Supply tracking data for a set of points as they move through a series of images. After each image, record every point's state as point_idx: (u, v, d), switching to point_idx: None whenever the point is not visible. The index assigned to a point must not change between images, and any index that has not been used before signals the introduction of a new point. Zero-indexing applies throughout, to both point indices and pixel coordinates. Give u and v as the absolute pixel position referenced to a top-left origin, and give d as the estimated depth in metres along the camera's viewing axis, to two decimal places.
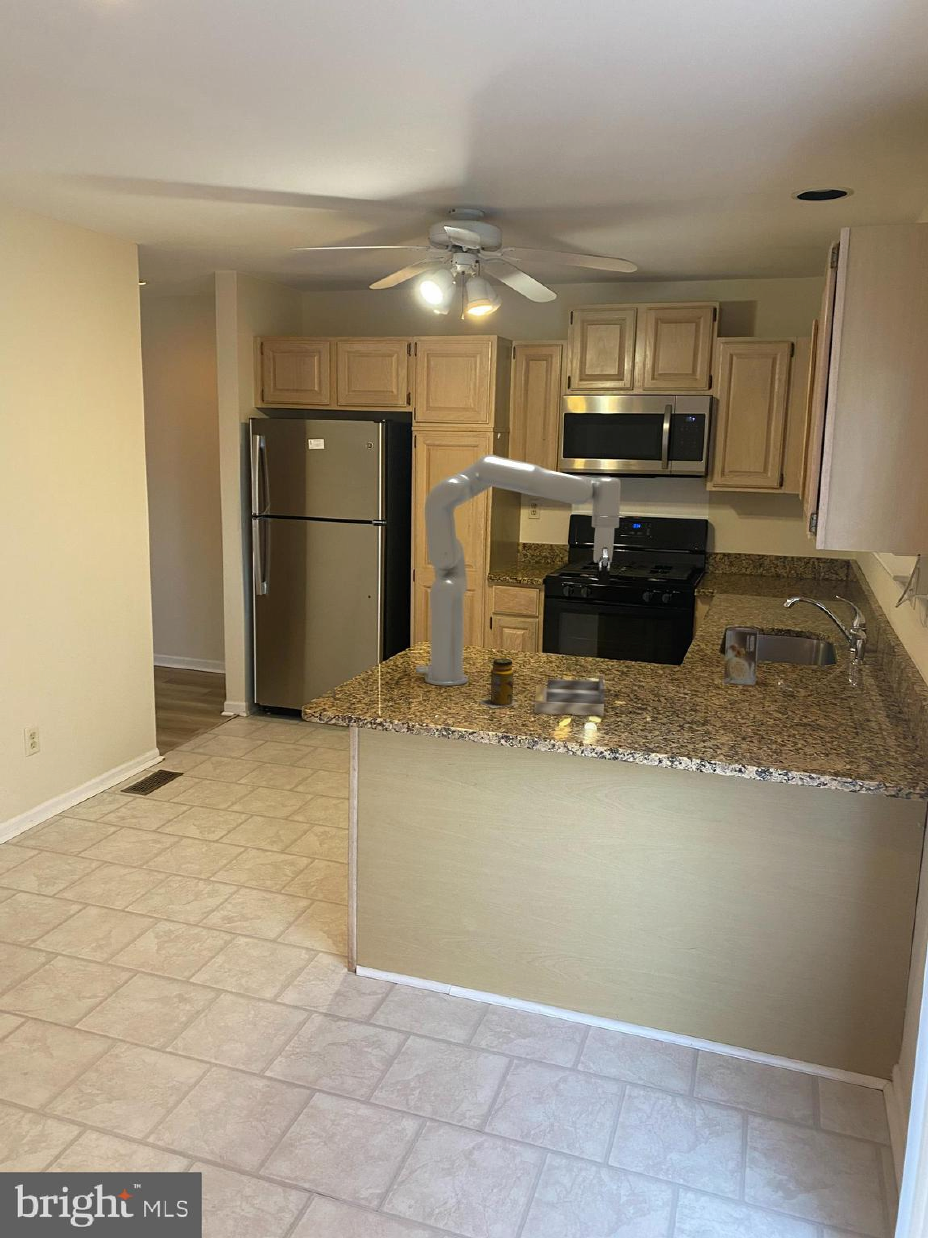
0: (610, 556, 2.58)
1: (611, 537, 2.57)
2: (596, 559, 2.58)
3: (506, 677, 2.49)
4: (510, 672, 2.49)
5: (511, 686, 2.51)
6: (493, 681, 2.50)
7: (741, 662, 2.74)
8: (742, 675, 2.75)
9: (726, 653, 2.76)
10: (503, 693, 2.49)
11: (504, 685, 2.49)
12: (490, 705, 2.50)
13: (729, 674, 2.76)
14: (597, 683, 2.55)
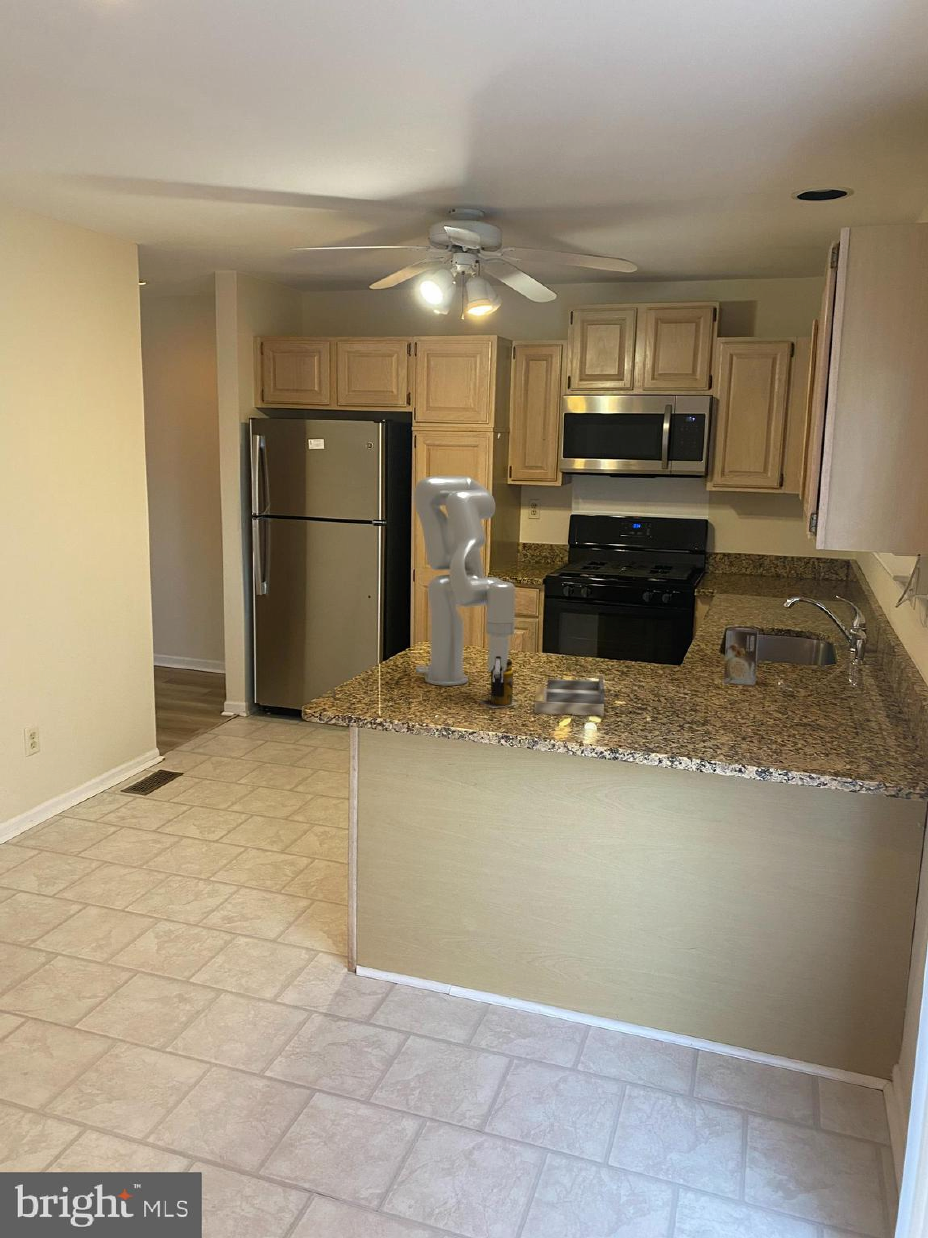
0: (504, 668, 2.46)
1: (504, 646, 2.45)
2: (489, 668, 2.46)
3: (506, 677, 2.48)
4: (510, 672, 2.49)
5: (511, 686, 2.50)
6: (492, 681, 2.50)
7: (741, 662, 2.74)
8: (742, 675, 2.75)
9: (726, 653, 2.76)
10: None
11: (504, 685, 2.49)
12: (490, 705, 2.50)
13: (729, 674, 2.76)
14: (597, 683, 2.55)
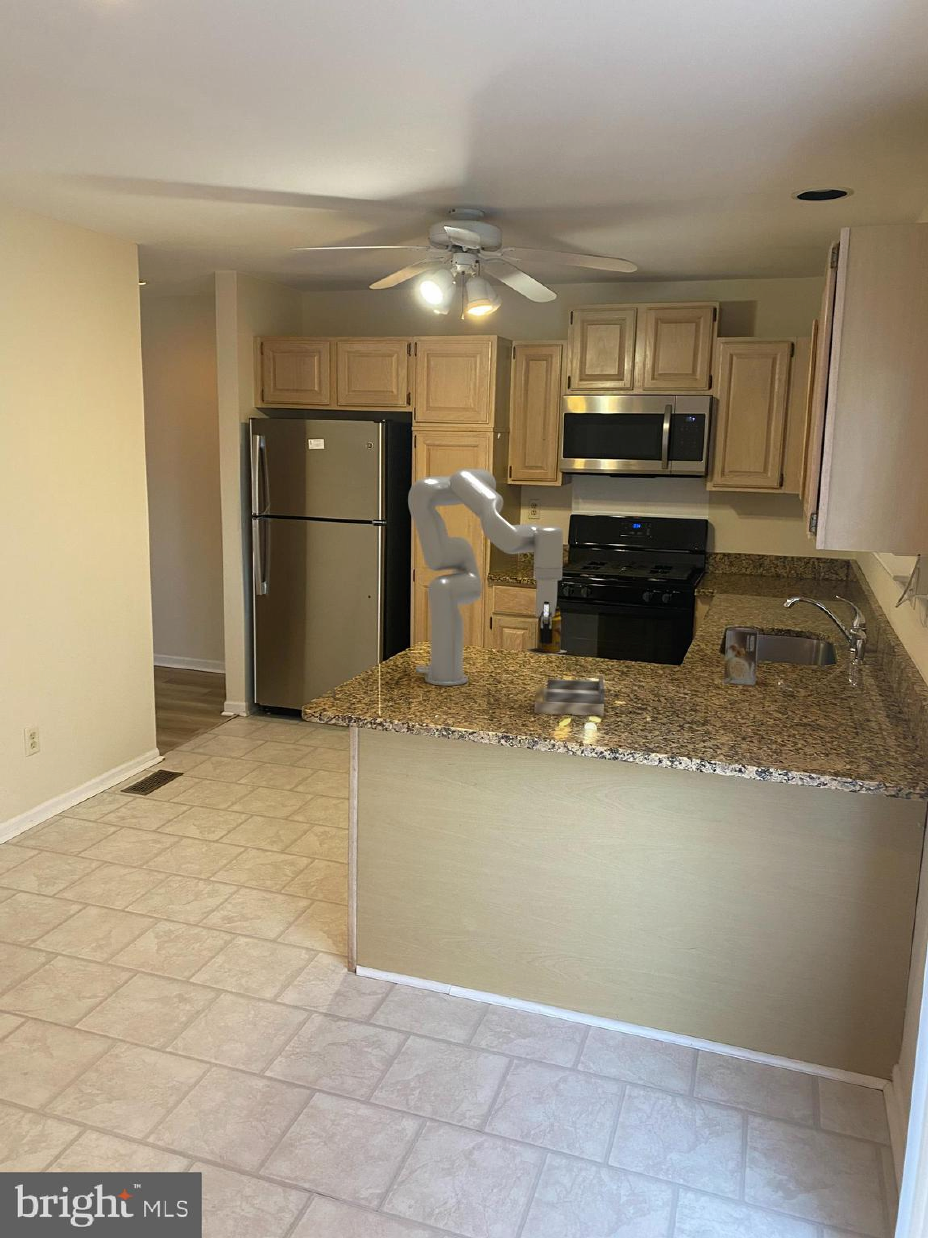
0: (552, 614, 2.42)
1: (553, 591, 2.41)
2: (537, 614, 2.42)
3: (554, 623, 2.44)
4: (558, 618, 2.45)
5: (559, 633, 2.46)
6: None
7: (741, 662, 2.74)
8: (742, 675, 2.75)
9: (726, 653, 2.76)
10: None
11: (552, 632, 2.44)
12: (538, 652, 2.45)
13: (729, 674, 2.76)
14: (597, 683, 2.55)
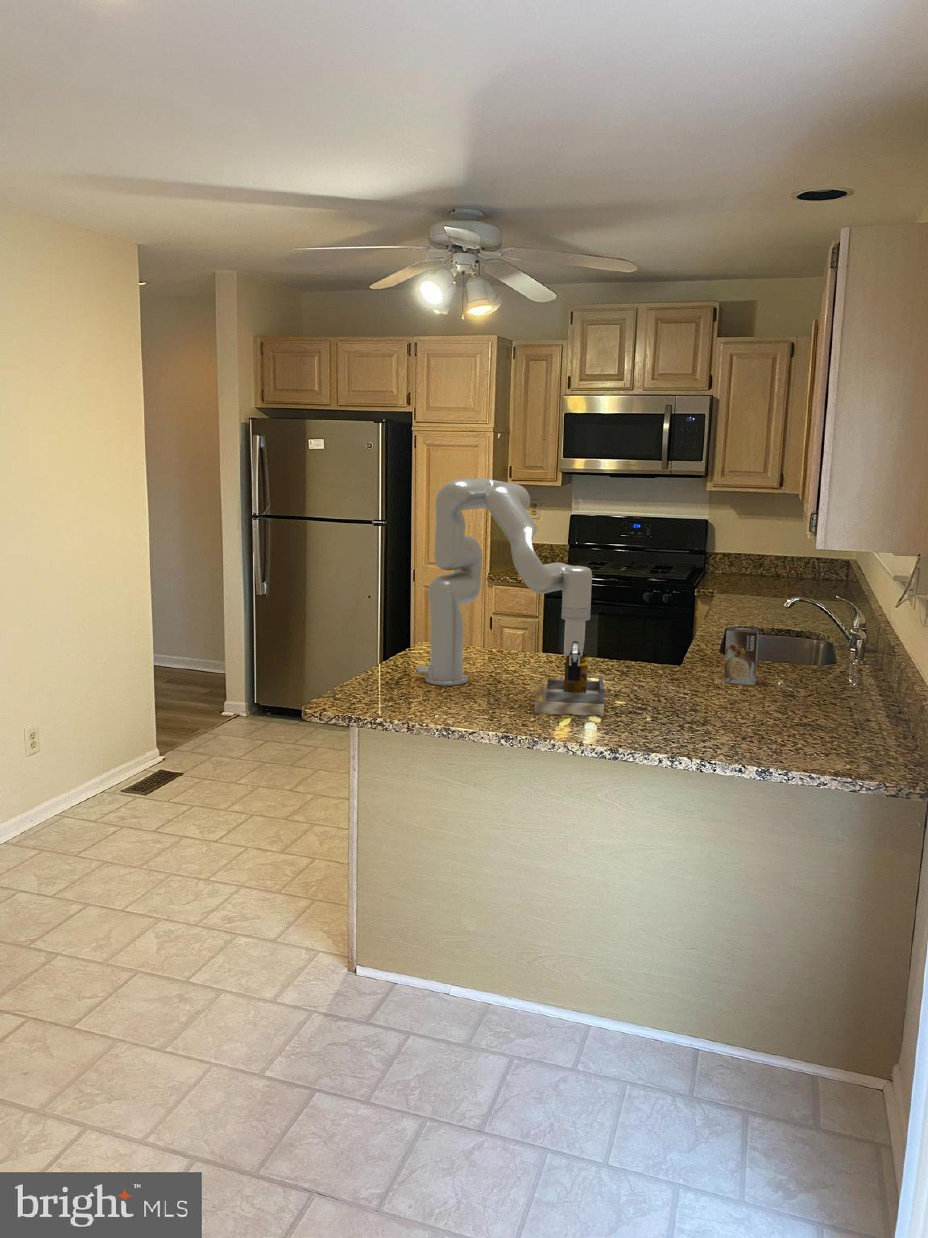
0: (581, 651, 2.42)
1: (581, 631, 2.42)
2: (566, 654, 2.43)
3: (581, 669, 2.46)
4: (585, 664, 2.47)
5: (585, 678, 2.48)
6: (566, 673, 2.47)
7: (741, 662, 2.74)
8: (742, 675, 2.75)
9: (726, 653, 2.76)
10: (577, 685, 2.47)
11: None
12: None
13: (729, 674, 2.76)
14: (597, 683, 2.55)
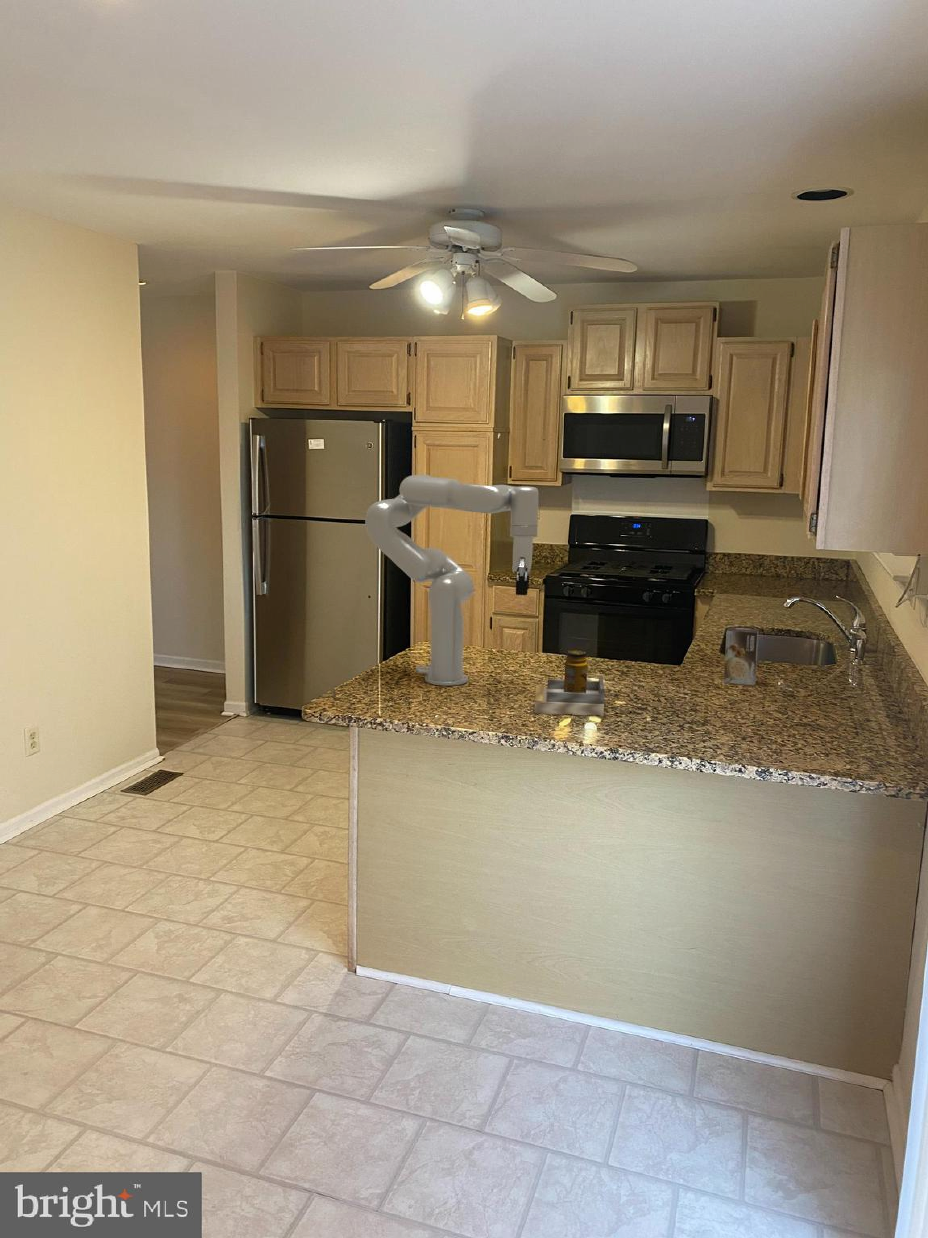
0: (527, 566, 2.55)
1: (528, 547, 2.54)
2: (514, 569, 2.56)
3: (581, 669, 2.46)
4: (585, 664, 2.47)
5: (585, 678, 2.48)
6: (566, 673, 2.47)
7: (741, 662, 2.74)
8: (742, 675, 2.75)
9: (726, 653, 2.76)
10: (577, 685, 2.47)
11: (579, 677, 2.46)
12: None
13: (729, 674, 2.76)
14: (597, 683, 2.55)
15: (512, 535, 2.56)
